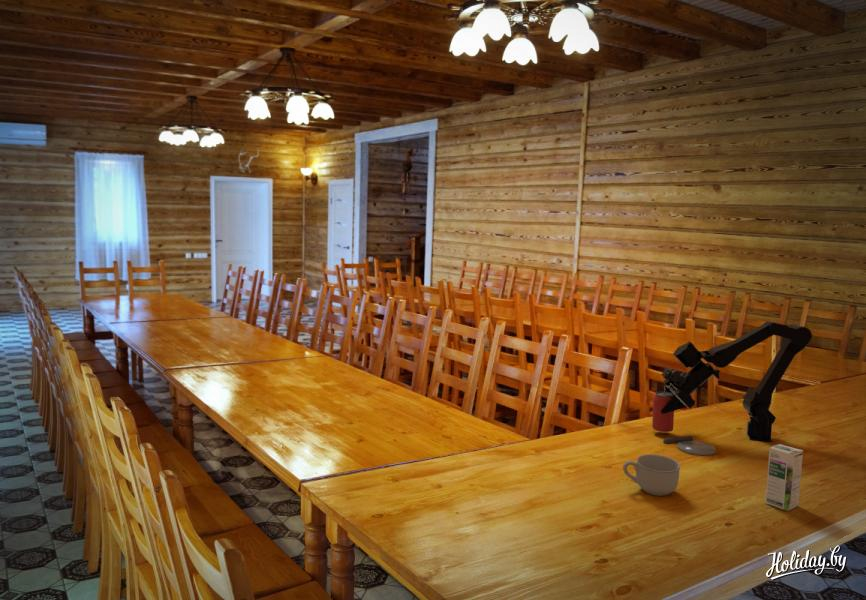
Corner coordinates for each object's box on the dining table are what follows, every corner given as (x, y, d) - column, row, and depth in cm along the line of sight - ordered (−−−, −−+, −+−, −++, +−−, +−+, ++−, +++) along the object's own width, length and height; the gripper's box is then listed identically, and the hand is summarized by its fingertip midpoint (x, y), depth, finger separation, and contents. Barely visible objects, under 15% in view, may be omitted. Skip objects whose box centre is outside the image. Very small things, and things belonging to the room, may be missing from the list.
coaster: (714, 445, 207) (714, 443, 207) (717, 457, 197) (717, 454, 197) (676, 441, 211) (676, 439, 211) (677, 452, 200) (677, 450, 200)
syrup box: (764, 503, 165) (768, 447, 163) (776, 498, 168) (780, 442, 167) (787, 512, 160) (792, 454, 158) (799, 506, 164) (804, 449, 162)
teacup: (678, 486, 175) (679, 457, 174) (679, 502, 165) (680, 471, 164) (623, 479, 180) (624, 450, 179) (621, 494, 169) (622, 464, 168)
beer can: (674, 433, 214) (676, 397, 213) (653, 431, 216) (654, 395, 214) (671, 427, 221) (673, 391, 219) (650, 425, 222) (652, 390, 221)
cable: (689, 439, 214) (689, 434, 213) (692, 441, 212) (692, 436, 212) (662, 443, 210) (662, 438, 210) (665, 444, 208) (665, 439, 208)
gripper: (670, 354, 224) (636, 385, 227) (686, 366, 206) (648, 400, 208) (693, 377, 224) (658, 408, 227) (711, 391, 206) (672, 425, 208)
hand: (659, 409), depth 217 cm, fingers closed on beer can, 7 cm apart
